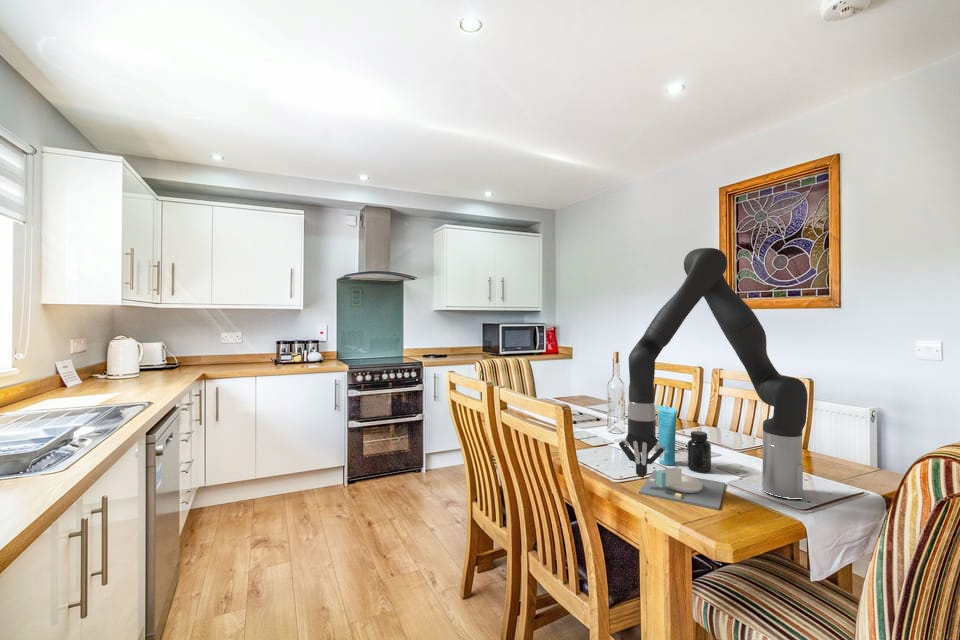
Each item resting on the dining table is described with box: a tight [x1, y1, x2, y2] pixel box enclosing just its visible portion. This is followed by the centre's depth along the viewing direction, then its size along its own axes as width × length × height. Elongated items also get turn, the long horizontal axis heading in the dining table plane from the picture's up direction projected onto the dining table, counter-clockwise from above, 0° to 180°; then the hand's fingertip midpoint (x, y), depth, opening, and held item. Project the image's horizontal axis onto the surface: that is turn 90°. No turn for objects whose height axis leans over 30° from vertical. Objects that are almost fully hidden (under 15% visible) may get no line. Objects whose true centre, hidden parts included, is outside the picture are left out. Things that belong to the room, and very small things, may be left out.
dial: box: [656, 466, 702, 493], centre depth 129 cm, size 14×10×6 cm
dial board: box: [638, 469, 726, 511], centre depth 130 cm, size 20×20×1 cm
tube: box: [656, 404, 678, 466], centre depth 152 cm, size 7×5×19 cm, turn 39°
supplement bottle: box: [687, 430, 712, 474], centre depth 146 cm, size 7×7×12 cm
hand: (641, 476), depth 130 cm, fingers closed
